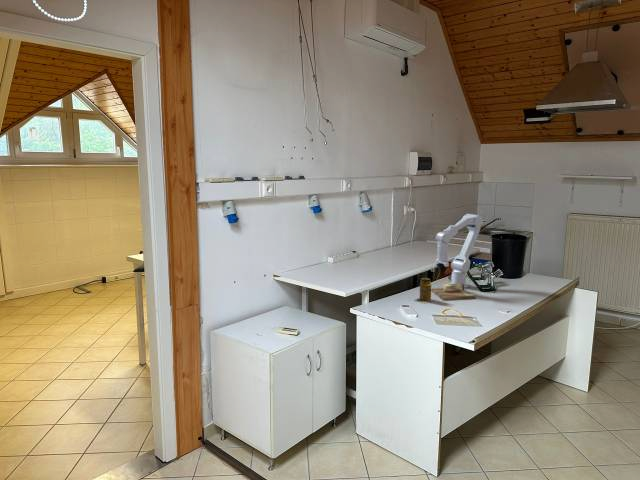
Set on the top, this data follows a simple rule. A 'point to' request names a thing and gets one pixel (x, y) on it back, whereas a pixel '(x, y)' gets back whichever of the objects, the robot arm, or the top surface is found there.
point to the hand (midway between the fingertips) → (441, 276)
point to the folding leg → (453, 287)
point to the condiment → (425, 290)
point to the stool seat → (452, 294)
